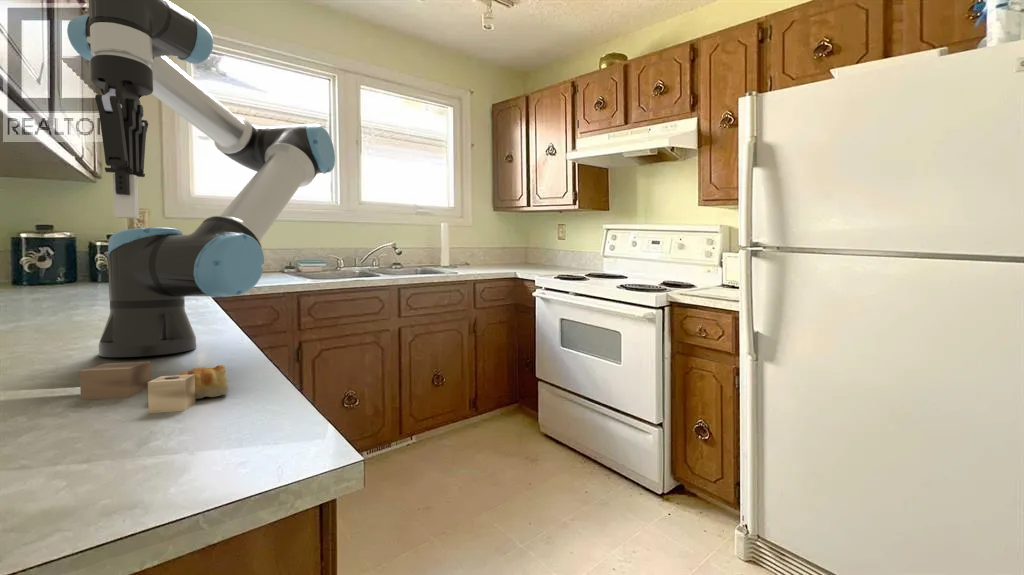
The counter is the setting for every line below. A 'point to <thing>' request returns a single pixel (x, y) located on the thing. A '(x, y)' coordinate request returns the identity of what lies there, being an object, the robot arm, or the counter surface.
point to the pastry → (209, 381)
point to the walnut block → (114, 380)
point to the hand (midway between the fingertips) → (126, 217)
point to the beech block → (171, 393)
